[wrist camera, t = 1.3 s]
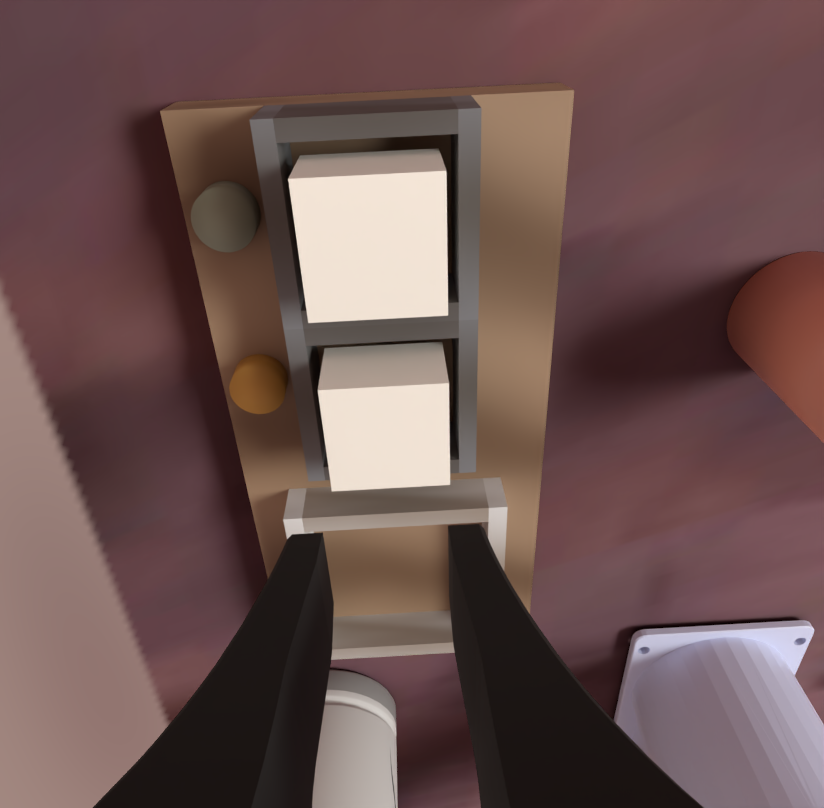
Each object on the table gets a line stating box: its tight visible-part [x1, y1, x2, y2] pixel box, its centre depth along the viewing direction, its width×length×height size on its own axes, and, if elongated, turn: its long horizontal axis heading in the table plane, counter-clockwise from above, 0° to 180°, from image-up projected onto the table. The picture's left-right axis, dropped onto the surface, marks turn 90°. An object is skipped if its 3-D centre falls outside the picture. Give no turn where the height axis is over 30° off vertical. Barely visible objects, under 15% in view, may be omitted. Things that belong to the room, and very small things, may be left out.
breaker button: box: [288, 148, 448, 323], centre depth 15 cm, size 3×3×2 cm
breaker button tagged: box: [318, 342, 450, 491], centre depth 18 cm, size 3×3×2 cm
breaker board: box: [160, 83, 574, 660], centre depth 21 cm, size 21×10×4 cm, turn 2°
